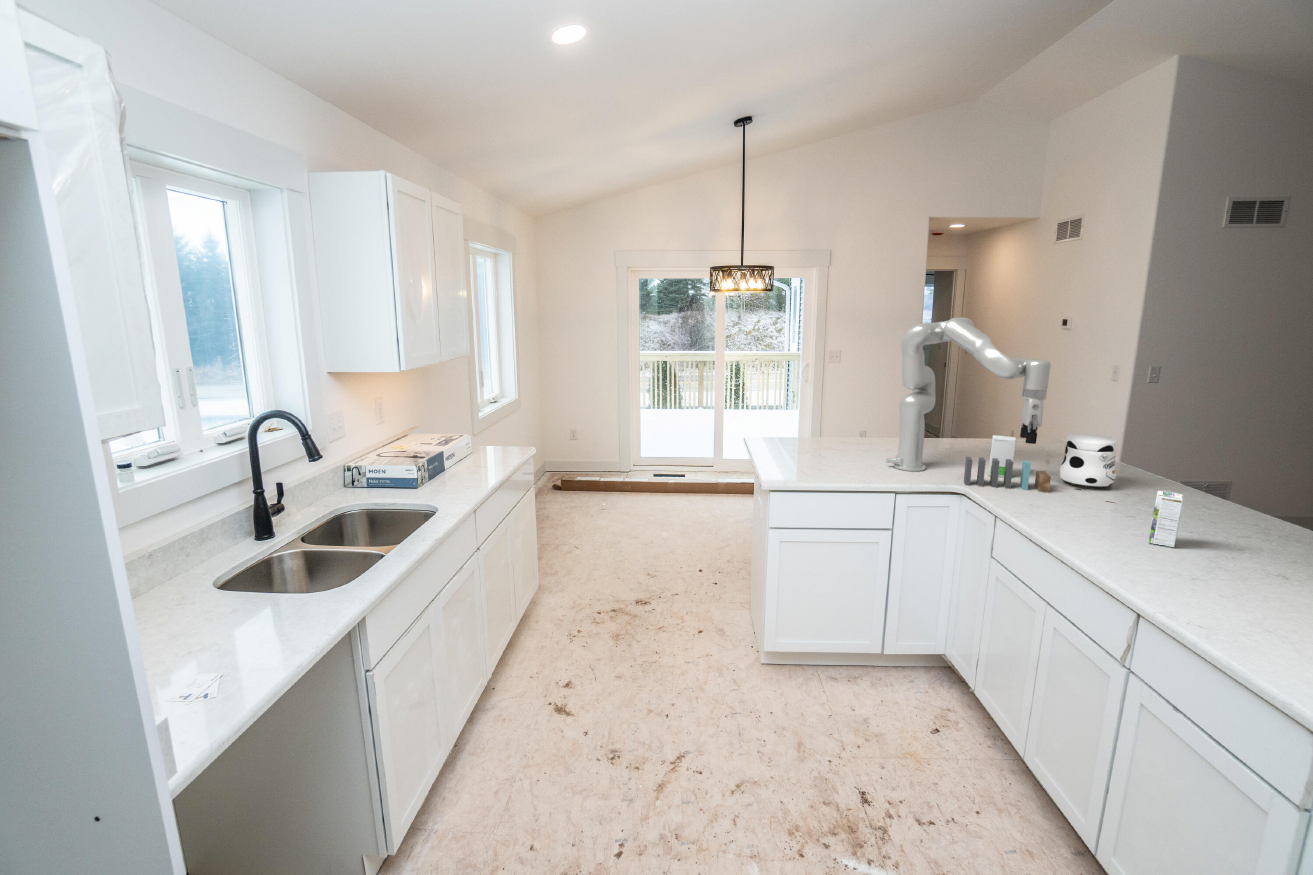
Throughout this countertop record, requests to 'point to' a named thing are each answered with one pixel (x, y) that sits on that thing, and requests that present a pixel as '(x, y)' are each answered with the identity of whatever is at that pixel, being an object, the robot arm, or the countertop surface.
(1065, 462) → the spotted treat jar
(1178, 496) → the syrup box
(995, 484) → the tile
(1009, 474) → the tile
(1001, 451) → the skincare box
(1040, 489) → the bookend
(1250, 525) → the countertop surface
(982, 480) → the tile
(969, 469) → the tile
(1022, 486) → the domino
